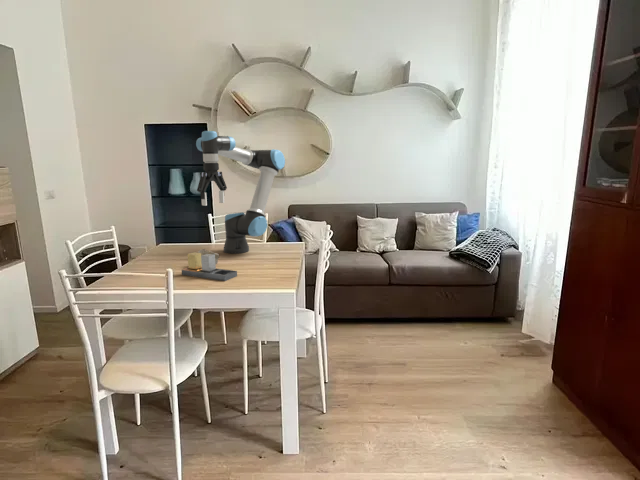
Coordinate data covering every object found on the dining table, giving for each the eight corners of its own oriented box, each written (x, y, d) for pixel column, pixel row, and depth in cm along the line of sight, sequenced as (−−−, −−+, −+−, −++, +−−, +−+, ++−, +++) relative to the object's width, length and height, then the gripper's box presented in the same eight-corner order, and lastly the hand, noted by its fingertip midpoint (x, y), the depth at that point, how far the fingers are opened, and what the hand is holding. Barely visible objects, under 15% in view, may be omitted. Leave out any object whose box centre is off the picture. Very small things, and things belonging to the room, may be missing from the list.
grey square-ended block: (208, 273, 204) (207, 253, 202) (216, 274, 202) (214, 254, 200) (202, 276, 200) (201, 255, 198) (209, 277, 198) (208, 256, 196)
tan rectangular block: (195, 272, 207) (194, 252, 206) (202, 273, 205) (201, 253, 204) (188, 274, 203) (187, 254, 202) (196, 275, 202) (194, 255, 200)
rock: (190, 265, 215) (195, 247, 215) (192, 264, 221) (198, 246, 221) (213, 272, 216) (219, 253, 216) (215, 270, 223) (220, 252, 223)
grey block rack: (195, 270, 210) (194, 265, 210) (237, 276, 199) (236, 270, 199) (181, 274, 202) (181, 269, 202) (225, 281, 191) (224, 275, 191)
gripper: (221, 162, 226) (223, 201, 230) (187, 162, 204) (190, 206, 208) (232, 162, 223) (234, 202, 227) (199, 162, 201) (202, 206, 205)
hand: (213, 204), depth 218 cm, fingers open, 13 cm apart
